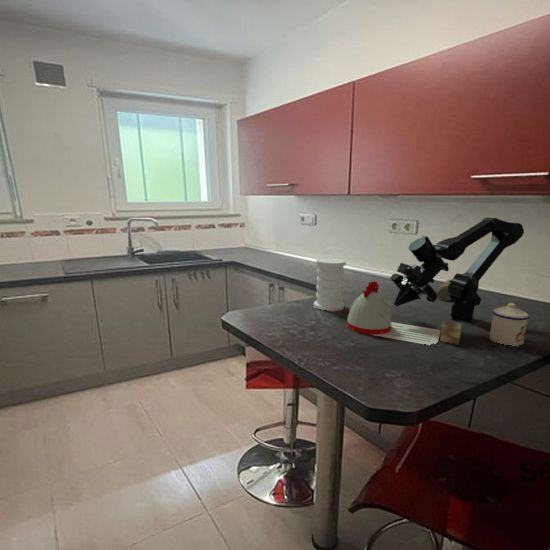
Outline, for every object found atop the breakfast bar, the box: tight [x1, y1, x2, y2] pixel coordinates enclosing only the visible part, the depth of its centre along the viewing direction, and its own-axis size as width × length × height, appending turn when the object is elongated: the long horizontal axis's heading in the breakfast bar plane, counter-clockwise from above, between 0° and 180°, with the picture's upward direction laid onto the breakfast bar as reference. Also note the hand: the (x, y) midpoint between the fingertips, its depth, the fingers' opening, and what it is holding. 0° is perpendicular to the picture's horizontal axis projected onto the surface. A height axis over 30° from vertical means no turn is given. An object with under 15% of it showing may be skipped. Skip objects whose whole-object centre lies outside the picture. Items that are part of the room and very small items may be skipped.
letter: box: [369, 321, 442, 346], centre depth 115 cm, size 19×15×1 cm
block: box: [439, 320, 462, 345], centre depth 109 cm, size 5×5×5 cm
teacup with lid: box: [489, 302, 530, 347], centre depth 109 cm, size 12×9×12 cm
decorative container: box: [313, 257, 346, 312], centre depth 139 cm, size 12×12×18 cm
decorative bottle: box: [435, 278, 453, 302], centre depth 161 cm, size 26×8×7 cm, turn 145°
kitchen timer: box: [346, 280, 392, 336], centre depth 117 cm, size 14×14×15 cm
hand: (395, 305), depth 120 cm, fingers closed
